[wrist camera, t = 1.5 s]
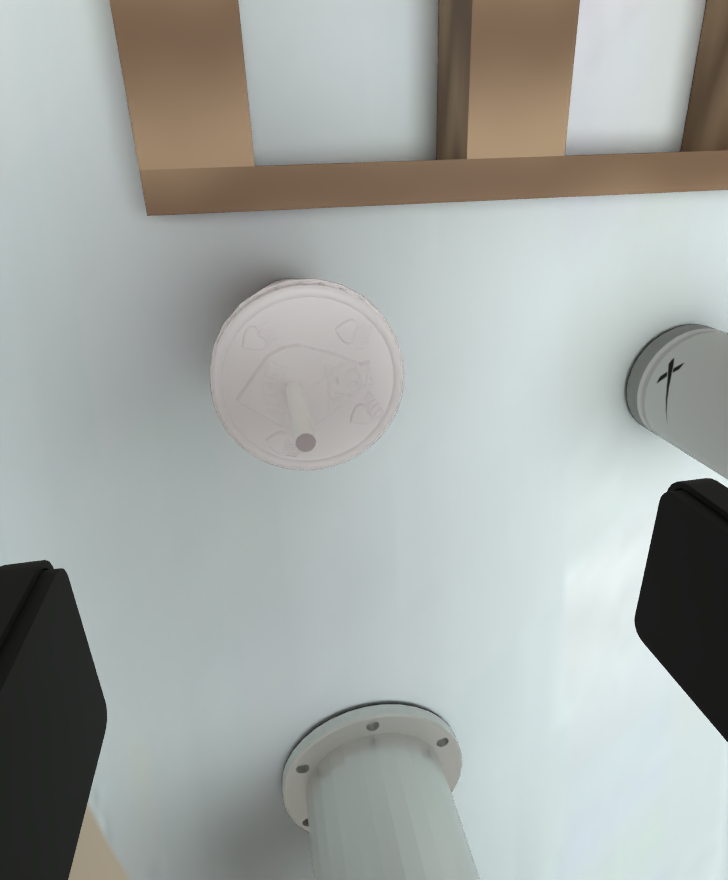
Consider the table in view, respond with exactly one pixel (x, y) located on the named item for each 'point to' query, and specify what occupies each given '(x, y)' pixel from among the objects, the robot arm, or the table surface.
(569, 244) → the table surface
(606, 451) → the table surface
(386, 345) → the smoothie
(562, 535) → the table surface
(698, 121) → the wooden frame
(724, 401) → the travel mug
